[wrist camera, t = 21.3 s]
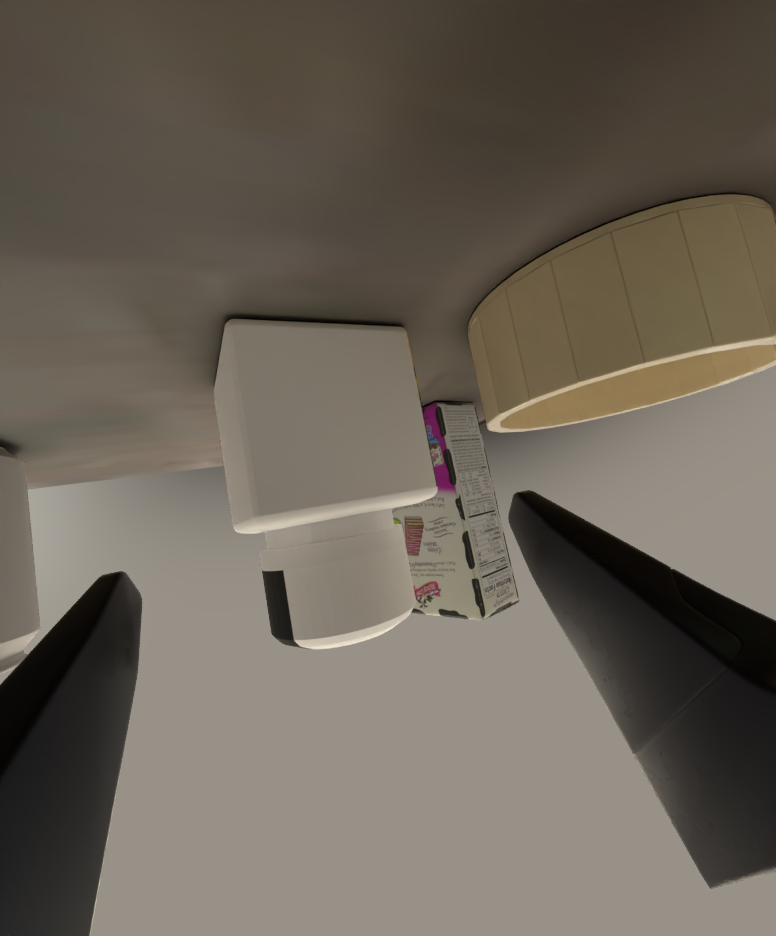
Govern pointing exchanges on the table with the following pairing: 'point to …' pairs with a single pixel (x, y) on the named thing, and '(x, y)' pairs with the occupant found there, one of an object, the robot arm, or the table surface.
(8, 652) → the can
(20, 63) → the table surface
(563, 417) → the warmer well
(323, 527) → the medicine bottle
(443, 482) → the candy bar box
